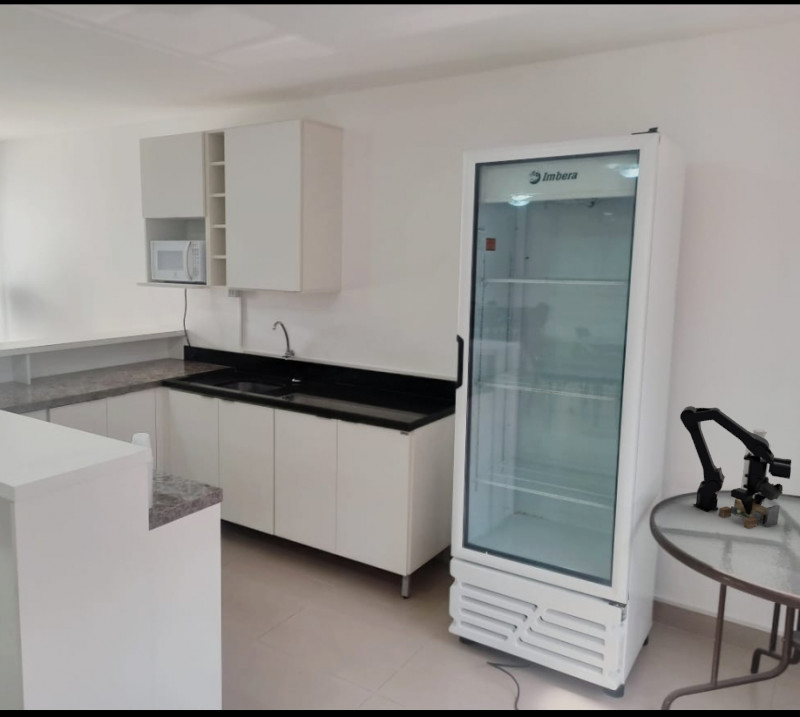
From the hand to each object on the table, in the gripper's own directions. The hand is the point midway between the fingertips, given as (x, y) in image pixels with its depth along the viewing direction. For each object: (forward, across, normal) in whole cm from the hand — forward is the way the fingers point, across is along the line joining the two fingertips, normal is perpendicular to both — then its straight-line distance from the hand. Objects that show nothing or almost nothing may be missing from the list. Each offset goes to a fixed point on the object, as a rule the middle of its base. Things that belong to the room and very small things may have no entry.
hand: (751, 513), depth 233 cm
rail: (0, 0, 0) cm, 0 cm away
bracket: (+1, 0, 0) cm, 1 cm away
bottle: (+2, +16, +11) cm, 19 cm away
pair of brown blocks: (+1, -8, 0) cm, 8 cm away
